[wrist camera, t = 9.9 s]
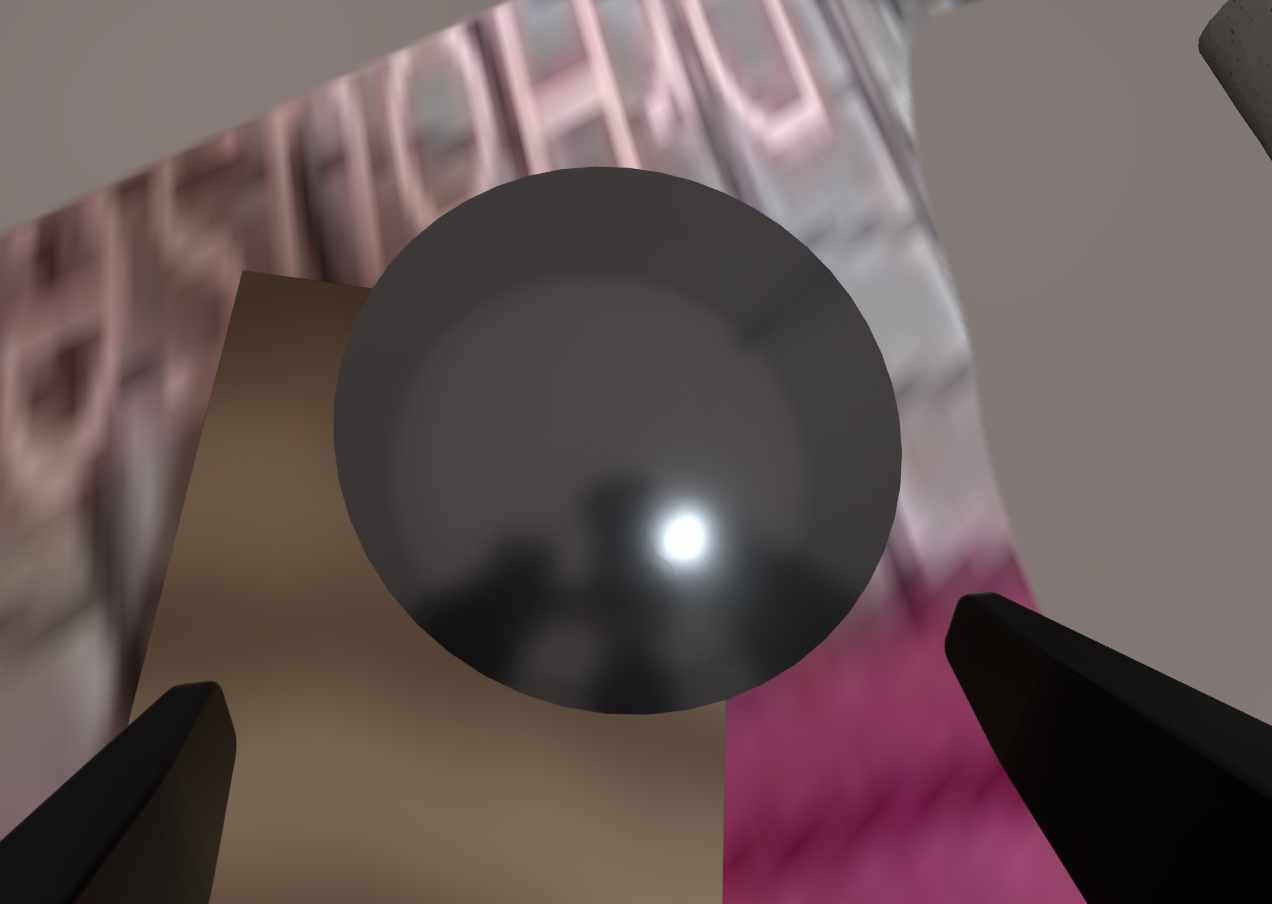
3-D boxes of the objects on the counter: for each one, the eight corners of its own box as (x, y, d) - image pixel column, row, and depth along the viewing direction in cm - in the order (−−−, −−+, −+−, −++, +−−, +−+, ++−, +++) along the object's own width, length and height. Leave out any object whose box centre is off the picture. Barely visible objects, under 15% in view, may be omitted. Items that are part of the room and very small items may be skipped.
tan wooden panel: (701, 1175, 14) (716, 1212, 13) (31, 1214, 12) (-7, 1259, 11) (720, 355, 20) (732, 339, 19) (256, 291, 18) (242, 270, 17)
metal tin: (703, 639, 16) (984, 609, 7) (466, 716, 15) (406, 811, 5) (635, 421, 17) (794, 137, 8) (411, 474, 16) (282, 206, 7)
